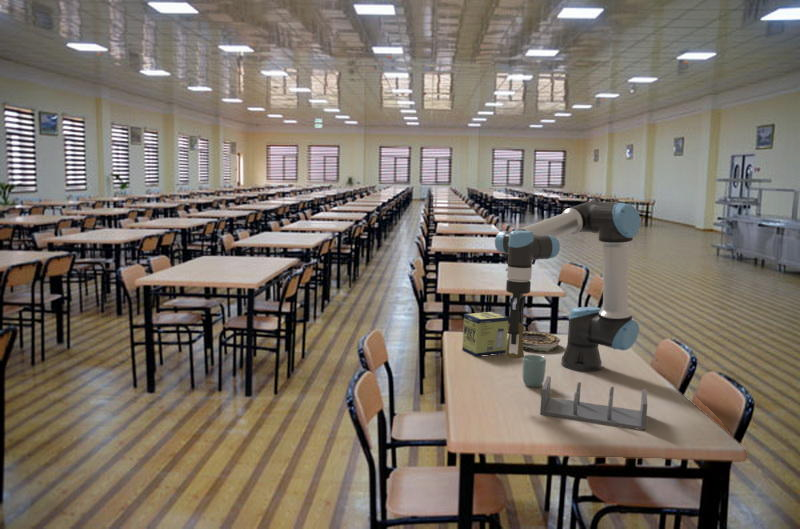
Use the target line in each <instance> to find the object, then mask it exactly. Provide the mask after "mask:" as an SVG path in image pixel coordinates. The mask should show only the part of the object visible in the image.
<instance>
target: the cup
mask: <svg viewBox="0 0 800 529" xmlns="http://www.w3.org/2000/svg"><path fill="white" fill-rule="evenodd" d="M546 363H547V360H546V357H544V356H542V355H539V354H538V355H537V354H526V355H525V354H524V357H523V358H522V374H521V375H522V381H523V384H525V385H526V386H527V387H530V388H539V387H540V386H542V384H543V383H544V382H545V381H544V380H545V377H546V376H545V375H546Z"/></svg>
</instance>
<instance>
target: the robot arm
mask: <svg viewBox="0 0 800 529" xmlns="http://www.w3.org/2000/svg"><path fill="white" fill-rule="evenodd" d="M640 228H641V218H640V213H639V210H637V208H636V206H634V205H632V204H630V203H624V202H617V201H616V202H613V201H612V202H611V201H600V200H599V201H597V200H596V201H595V200H593V201H588V202H584V203H581V204H578V205H575V206H571V207H569V208H566V209H565V210H563V211H562V213H561V214H557V215H555V216H552V217H549V218H546V219H543V220H541V221H538V222H535V223H533V224H529V225H526V226H525V227H521V228H518V229H515V230H512V231H509V230H502V231H500V232H498V233H497V234H496V236H495V239H494V246H495V248H496V250H497V251H498V252H499V253H503V254H506V255H507V268H505V272H507V273H506V278H507V280H506V286H505V291H506V292H507V293H511V294H512V296H511V298H510V299H509V300H510V302H509V311H510V312H509V323H510V325H509V331H508V334H507V335H509V334H510V344H509V353H510V354H511V353H515V354H518V343H519V334H518V333H519V332H518V330H519V322H520V323H522V324H523V325H524V310H525V309H524V306H525V299H526V297H525V296H524V295H527V294H529V293H530V292H531V283H532V282H531V280H532V271H533V269H532V268H533V261H535V260H549V259H553V258H556V257H557V256H558V255H559V253H560V250H561V244H560V241H559V240H558V238H561V237H563V236H565V235H568V234H572V235H576V234H579V233H591V234H598V242H599V243H600V244H602V246H603V247H602V249H603V250H602V268H603V269H602V271H603V272H602V275H603V276H602V284H603V285H602V293H603V294H602V308H601V307H595V306H583V307H582V306H581V307H574V308H571V309H570V312H569V317H568V328H567V329H568V331H567V332H568V333H567V345H566V348H565V350H564V353H563V355H562V357H561V362H560V364H561V365H562V366H563V367H564V368H567V369H570V370H573V371H580V372H596V371H600V370H601V369H602V365H603V364H602V363H603V362H602V359H601V354H600V350H599V345H600V346H604V347H607V348H609V349H613V350H618V351H619V350H620V351H628V350H630V349H631V347H633V345H634V344H635V343H636V341H637V339H638V337H639V331H640V326H639V324H638V322H637V321H636V320H634V319H633V313H632V311H631V310H630V309H629V305H628V303H629V300H628V299H629V245H630V244H631V243H632V242H633V241H634V237H635V236H637V235H638V233H639V230H640Z"/></svg>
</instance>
